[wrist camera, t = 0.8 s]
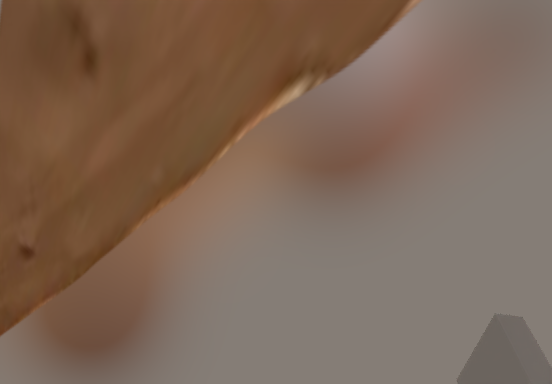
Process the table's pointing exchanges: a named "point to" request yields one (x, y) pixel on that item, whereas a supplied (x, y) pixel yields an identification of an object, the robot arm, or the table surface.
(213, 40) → the table surface
